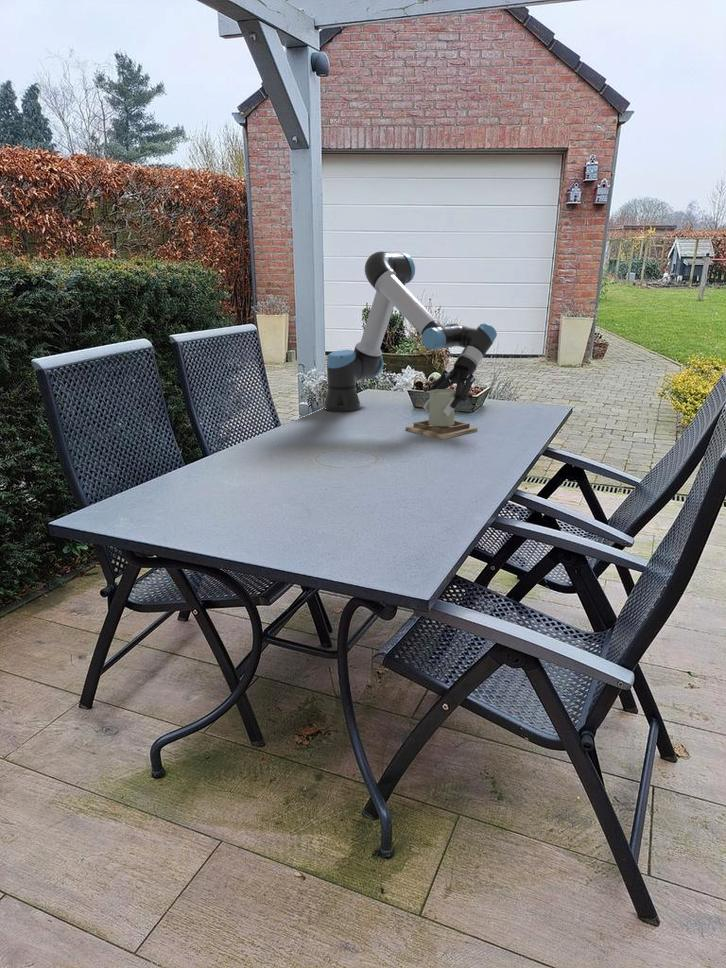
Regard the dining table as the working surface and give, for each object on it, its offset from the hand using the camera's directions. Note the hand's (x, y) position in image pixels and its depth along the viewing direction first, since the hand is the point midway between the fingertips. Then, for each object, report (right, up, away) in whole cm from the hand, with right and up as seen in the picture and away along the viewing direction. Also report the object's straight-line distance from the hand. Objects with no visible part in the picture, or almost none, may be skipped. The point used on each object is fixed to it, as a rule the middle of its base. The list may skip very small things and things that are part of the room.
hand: (435, 412), depth 224 cm
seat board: (+3, -6, +4) cm, 8 cm away
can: (+3, -4, +3) cm, 6 cm away
